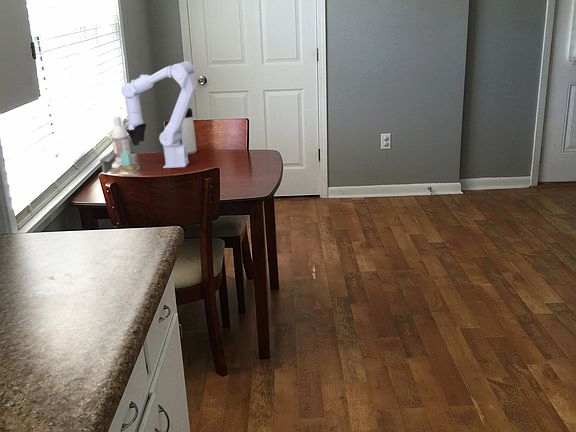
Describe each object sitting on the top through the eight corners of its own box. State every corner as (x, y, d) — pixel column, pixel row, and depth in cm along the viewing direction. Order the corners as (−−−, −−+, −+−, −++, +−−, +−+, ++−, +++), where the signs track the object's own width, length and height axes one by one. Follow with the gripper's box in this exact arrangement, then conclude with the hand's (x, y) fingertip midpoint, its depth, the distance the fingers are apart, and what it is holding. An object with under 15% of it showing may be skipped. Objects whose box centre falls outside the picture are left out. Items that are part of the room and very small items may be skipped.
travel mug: (200, 151, 298) (195, 108, 292) (191, 154, 293) (185, 110, 287) (189, 150, 302) (184, 107, 295) (180, 153, 297) (175, 110, 290)
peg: (132, 168, 272) (130, 152, 270) (130, 170, 269) (127, 154, 267) (125, 168, 272) (122, 152, 270) (122, 170, 269) (120, 154, 267)
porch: (140, 168, 275) (137, 152, 273) (133, 174, 266) (130, 158, 264) (110, 170, 276) (107, 154, 274) (102, 176, 267) (99, 159, 265)
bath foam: (113, 161, 291) (106, 117, 284) (128, 158, 294) (122, 115, 288) (118, 164, 285) (111, 119, 279) (133, 161, 288) (127, 117, 282)
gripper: (130, 109, 280) (134, 139, 284) (119, 115, 266) (124, 147, 270) (146, 108, 279) (150, 139, 283) (136, 114, 265) (141, 146, 270)
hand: (138, 143), depth 277 cm, fingers open, 7 cm apart
